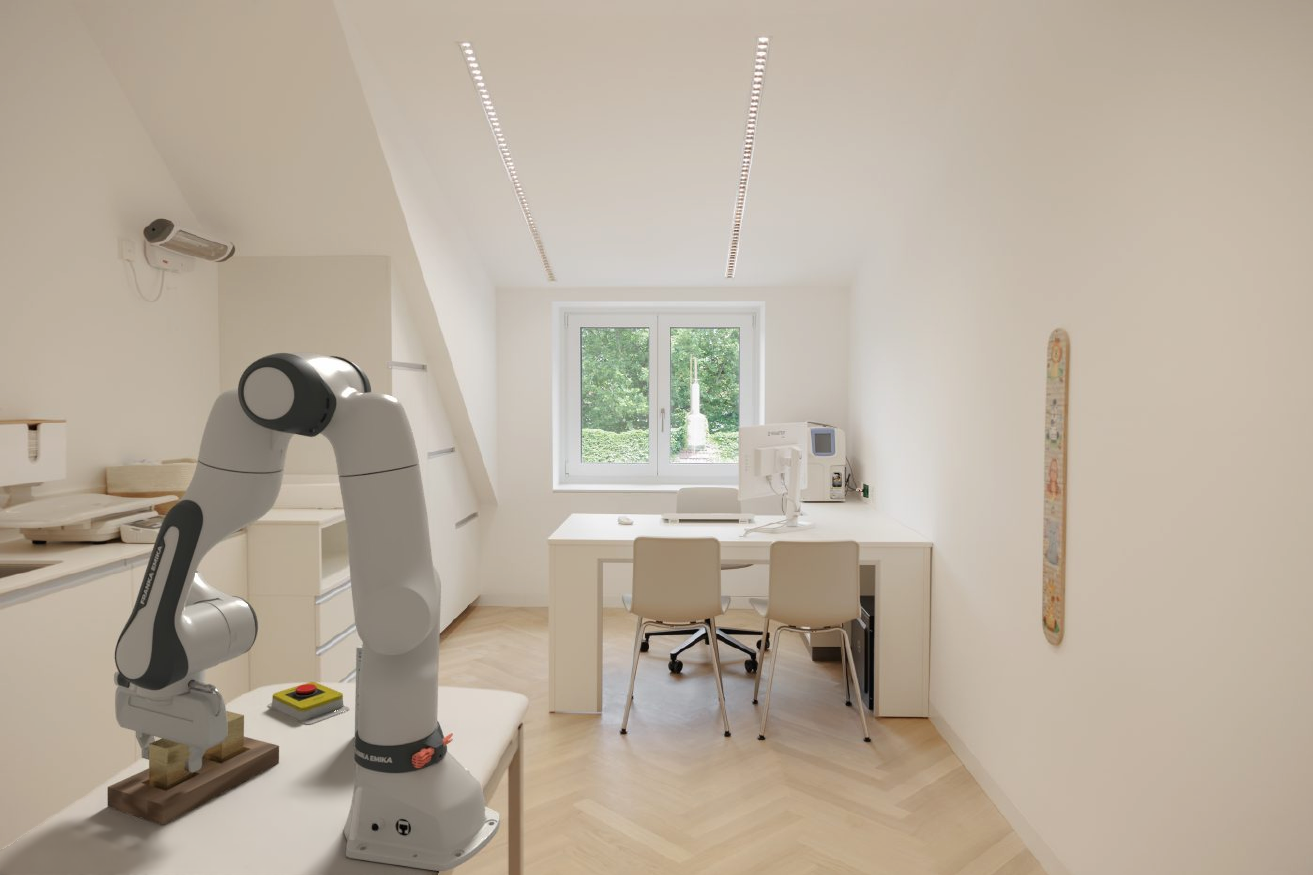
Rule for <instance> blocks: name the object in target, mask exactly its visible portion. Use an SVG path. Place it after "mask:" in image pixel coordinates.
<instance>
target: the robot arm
mask: <svg viewBox="0 0 1313 875" xmlns="http://www.w3.org/2000/svg"><path fill="white" fill-rule="evenodd" d="M237 386H238V387H237V388H232V389H229V390H226V391H224V392H222V393H221V394H220V395H218V397H217V398H216V399H215V401H214V403H213V405H212V408H211V409H210V413H209V416H208V418H207V421H206V424H205V427H204V430H203V434H202V438H201V442H200V446H199V451H198V457H197V463H196V467H195V470H194V474H193V476H192V478H191V480H190V483H189V485H188V487H186V488H187V489H186V490H185V492H184V493H183V495H182V497H181V498H180V499H179V501H178V502H177V503H176V504H174V505H173V506H172V507H171V508H170V509H169V510H168V512H167V513H166V515H165V517H164V519H163V520H162V523H161V525H160V528H159V529H158V532H157V535H156V539H155V542H154V545H153V546H152V547H153V548H152V550H151V554H150V557H149V560H148V564H147V567H146V569H145V572H144V576H143V578H142V582H141V585H140V588H139V591H138V593H137V597H136V601H135V603H134V606H133V608H132V612H131V613H130V616H129V618H128V619H127V621H126V623H125V625H124V626H123V629H122V630H121V633H120V635H119V636H118V639H117V642H116V645H115V649H114V663H115V667H116V670H117V671H116V672H114V674H113V682H114V685H115V686H117V687H116V690H115V695H114V702H115V703H114V704H115V706H114V707H115V708H114V709H115V718H116V719H115V720H116V722H117V724H118V726H119V727H120V728H123V729H126V730H127V729H128V730H131V731H134V732H135V737H136V740H137V742H138V744H139V746H140V749H141V759H144V760H148V761H149V744H150V743H153V742H155V741H156V740H155V737H156V738H159V739H162V738H163V739H166V740H170V741H174V742H177V743H181V744H185V745H188V746H189V751H190V752H191V755H190V757H189V758H188V759H186V760H184V765H185V767H184V770H186V771H189V772H192V773H193V772H195V771H197V770H199V769H201V767H202V757H203V755H204V754H205V752H206V750H207V749H209V748H212V747H214V746H216V745H218V744H220V743H222V742H223V741H224V740H225V739H226V737H227V735H228V724H227V713H226V711H227V708H226V703H225V699H224V697H223V696H222V694H221V693H220V692H219V690H217V688H216V686H215V685H214V684H211V683H206V670H208V669H211V668H214V667H216V666H218V665H220V664H223V663H226V662H228V661H231V660H233V659H236V658H238V657H240V656H241V655H244V654H246V653H248V652H249V651H250V650H251V649H252V647H253V646H254V644H255V642H256V640H257V637H258V630H259V622H258V618H257V617H258V616H257V614H256V611H255V608H253V606H252V605H251V604H250V603H249V602H248V601H247V600H245V599H244V598H242V597H241V596H235V595H229V594H227V593H224V592H223V591H221V590H219V589H217V588H215V587H214V586H212V585H211V584H209V583H208V582H207V580H206V578H205V576H204V575H203V573H201V572H200V571H198V567H199V565H200V563H201V562H202V560H203V558H204V557H205V556H206V555H207V554H208V553H209V552H211V550H212V549H213V548H214V547H215V546H217V545H218V544H219V543H221V542H222V541H224V540H225V539H226V538H228V537H230V536H231V535H233V534H234V533H236V532H238V531H239V530H242V529H244V528H245V527H247V526H250V525H252V524H254V523H255V522H257V521H259V520H260V519H261V518H262V517H264V516H265V515H267V513H268V512H270V511H271V509H272V508H273V506H275V503H276V501H277V499H278V497H279V494H280V492H281V489H282V484H283V479H284V471H285V466H286V465H285V464H286V458H287V451H288V448H289V444H290V441H291V439H292V437H293V436H294V435H298V436H304V437H309V438H314V437H317V436H318V435H322V436H324V437H325V438H326V439H327V440H328V441H329V443H330V445H331V447H332V450H333V452H334V453H333V454H334V456H335V462H336V469H337V470H336V471H337V476H338V482H339V489H340V494H341V500H342V506H343V513H344V518H345V524H346V532H347V545H348V546H347V547H348V548H347V549H348V561H349V562H348V564H349V575H350V576H349V577H350V585H351V586H350V587H351V598H352V605H353V614H354V615H353V616H354V623H355V629H356V632H357V634H358V637H359V638H360V640H361V642H362V657H361V667H360V675H359V708H358V730H357V731H356V733H355V732H354V745H353V752H354V758H353V759H354V761H355V762H356V768H355V769H356V770H355V779H354V785H353V786H354V787H353V792H352V799H351V804H350V809H349V812H348V815H347V818H346V822H345V825H344V830H343V832H344V836H345V838H346V841H347V843H346V846H345V856H346V857H347V858H349V859H354V860H355V859H356V860H363V861H366V862H367V861H369V862H374V863H381V864H389V865H395V866H403V867H408V868H415V869H421V870H422V869H423V870H430V871H434V872H435V871H437V872H446V871H449V870H451V869H453V868H457V867H458V866H461V865H462V864H464V863H466V862H467V861H469V860H471V858H474V857H475V856H476V855H477V854H478V853H479V852H481V851H482V850H483V849H484V848H485V847H486V846H487V845H488V844H489V843H490V842H491V841H492V839H493V838H494V837H495V835H496V834H497V833H498V831H499V828H500V825H501V815H500V814H501V813H500V812H499V811H496V810H494V809H492V808H489V807H488V806H486V805H485V797H484V796H485V795H484V791H483V787H482V785H481V783H480V781H479V780H478V779H477V778H476V777H474V775H473V774H471V773H470V770H469V769H468V768H466V767H465V766H463V765H462V764H461V763H460V762H459V761H458V760H457V758H455V757H454V756H453V755H452V754H451V753H450V752H449V751H448V745H449V743H451V742H452V741H453V740H454V738H452V737H453V733H452V732H451V733H449V734H448V735H446V736H444V733H443V729H442V727H441V724H440V722H439V721H438V707H439V704H438V702H439V700H438V699H439V666H440V664H439V663H440V661H439V660H440V659H439V658H440V635H441V634H440V632H441V631H440V630H441V606H442V605H441V601H442V600H441V598H442V596H441V594H442V585H441V584H442V583H441V578H440V575H439V572H438V571H437V569H436V567H435V565H434V564H433V556H432V548H431V546H432V545H431V538H430V529H429V516H428V512H427V510H428V509H427V505H426V498H425V492H424V486H423V479H422V472H421V467H420V461H419V460H420V459H419V455H418V449H417V446H416V441H415V438H414V434H413V429H412V428H411V424H410V422H409V418H408V416H407V413H406V410H405V408H404V406H403V405H402V403H401V402H400V400H399V399H397V398H395V397H394V396H392V395H389V394H386V393H382V392H374V391H372V387H371V382H370V379H369V377H368V376H367V374H366V372H365V371H364V370H363V369H362V368H361V367H360V366H358V364H356V363H354V362H353V361H351V360H349V359H346V358H344V357H342V356H335V355H330V356H329V355H326V354H325V355H323V354H319V353H316V352H292V353H287V352H278V353H273V354H269V355H266V356H263V357H261V358H259V359H257V360H255V361H253V362H252V363H251V364H249V365H248V366H247V367H246V368H245V370H244V371H243V373H242V375H241V377H240V378H239V382H238V385H237Z"/></svg>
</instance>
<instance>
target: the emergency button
mask: <svg viewBox="0 0 1313 875" xmlns="http://www.w3.org/2000/svg"><path fill="white" fill-rule="evenodd" d="M271 699H272V701H271V702H270V703H268V704H267V707H268V708H269V709H272V710H274V711H275V712H278V713H281V714H282V715H284V716H286V717H288V718H290V719H293V720H295V721H297V722H299V723H301V724H303V725H305V726H307V725H309V726H311V725H314V724H316V723H319V722H322V721H325V720H328V719H330V718H332V717H336V716H338V714H339V715H341V714H344V713H346V712H345V711H347V712H349V711H350V710H351V709H350V708H349V707H348V706H346V705H344V694H343V693H342V692H339V691H338V690H335V689H333V688H331V687H328V686H325V685H324V684H321V683H319V682H316V681H310V682H306V683H301V684H300V685H297V686H292V687H290V688H287V689H284V690H280V691H276V692H274V693H273V694H272V698H271ZM335 710H336V712H334V711H335ZM337 710H338V711H337ZM344 710H345V711H344ZM348 710H349V711H348ZM341 711H342V712H341ZM343 711H344V713H343ZM340 713H341V714H340ZM335 715H336V716H335Z"/></svg>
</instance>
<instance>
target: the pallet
mask: <svg viewBox="0 0 1313 875" xmlns="http://www.w3.org/2000/svg"><path fill="white" fill-rule="evenodd" d="M279 763H280V745H278V744H274V743H270V742H267V741H263V740H258V739H255V738H250V737H246V736H244V753H242V754H240V755H238V756H236V757H233V758H231V759H229V760H227V761H225V762H223V763H217V762H214V761H210V760H206V759H204V755H203V757H202V767H201V769H199V770H197V771H195V772H193V778H191V779H189V780H187V781H185V782H183V783H181V784H179V785H177V786H175V787H173V788H171V789H169V790H167V791H165V790H162V789H159V788H156V787H152V786H149V767H148V768H146V769H144V770H141V771H140V772H137V773H136V774H133V775H131V776H129V777H126V778H124V779H122V780H120V781H118V782H116V783H113V784H112V785H110V786H107V807H108V808H111V809H113V810H117V811H120V812H123V813H126V814H129V815H131V816H135V817H138V818H141V819H143V820H145V821H150V822H152V823H155V824H158V825H161V826H164V825H166V824H168V823H170V822H171V821H173V820H175V819H177V818H179V817H181V816H182V815H184V814H186V813H188V812H190V811H192V810H193V809H196V808H198V807H199V806H201V805H202V804H205V803H207V802H209V801H210V800H212V799H214V798H216V797H217V796H220V795H222V794H224V793H225V792H227V791H229V790H231V789H233V788H235V787H236V786H238V785H240V784H242V783H243V782H246V781H247V780H249V779H252V778H254V777H255V776H257V775H259V774H261V773H262V772H264V771H266V770H268V769H270V768H271V767H274V766H276V765H277V764H279Z"/></svg>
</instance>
